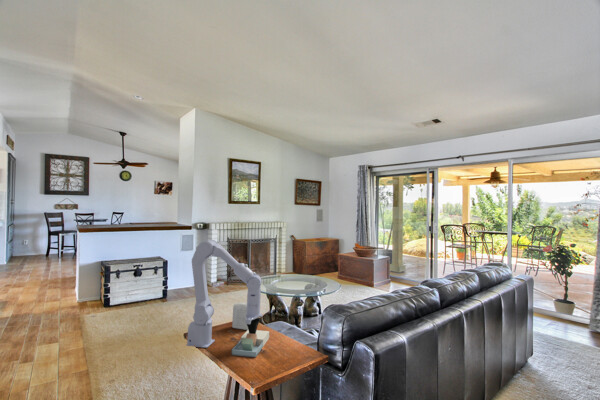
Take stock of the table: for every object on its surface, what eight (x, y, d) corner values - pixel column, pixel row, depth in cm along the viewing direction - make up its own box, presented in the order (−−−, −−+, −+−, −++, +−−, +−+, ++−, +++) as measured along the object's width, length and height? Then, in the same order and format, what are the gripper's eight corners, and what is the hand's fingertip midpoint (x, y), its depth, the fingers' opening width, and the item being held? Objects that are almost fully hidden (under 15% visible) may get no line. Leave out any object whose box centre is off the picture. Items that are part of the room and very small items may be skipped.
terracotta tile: (245, 345, 131) (244, 341, 130) (248, 337, 135) (247, 333, 134) (254, 346, 131) (253, 342, 130) (257, 337, 134) (256, 334, 133)
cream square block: (240, 344, 135) (240, 337, 135) (248, 335, 145) (248, 329, 145) (263, 346, 133) (263, 339, 134) (269, 337, 143) (269, 331, 143)
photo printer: (253, 328, 155) (254, 302, 156) (250, 331, 151) (251, 304, 152) (234, 325, 158) (235, 300, 159) (230, 328, 154) (231, 302, 155)
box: (231, 354, 125) (231, 349, 125) (240, 344, 135) (240, 340, 135) (255, 357, 123) (255, 352, 123) (262, 347, 133) (263, 342, 133)
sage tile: (244, 344, 131) (242, 349, 129) (243, 337, 129) (241, 343, 127) (253, 345, 130) (252, 350, 128) (252, 338, 128) (250, 344, 126)
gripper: (257, 309, 128) (256, 343, 127) (267, 300, 142) (265, 330, 141) (241, 307, 129) (239, 341, 128) (252, 299, 143) (250, 329, 142)
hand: (252, 335), depth 135 cm, fingers closed
